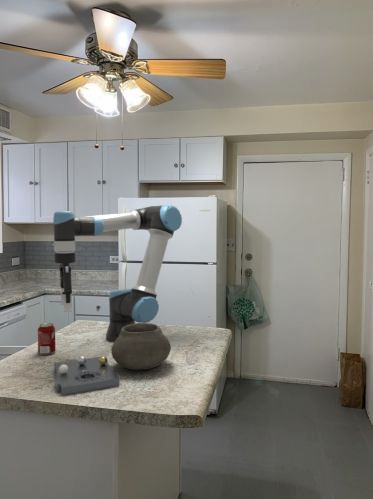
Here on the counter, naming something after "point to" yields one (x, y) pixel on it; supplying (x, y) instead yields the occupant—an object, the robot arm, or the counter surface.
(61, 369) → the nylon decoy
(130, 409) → the counter surface
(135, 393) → the counter surface
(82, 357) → the steel ball
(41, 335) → the soda can
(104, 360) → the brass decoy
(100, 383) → the grey flat block
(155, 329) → the clay pot
